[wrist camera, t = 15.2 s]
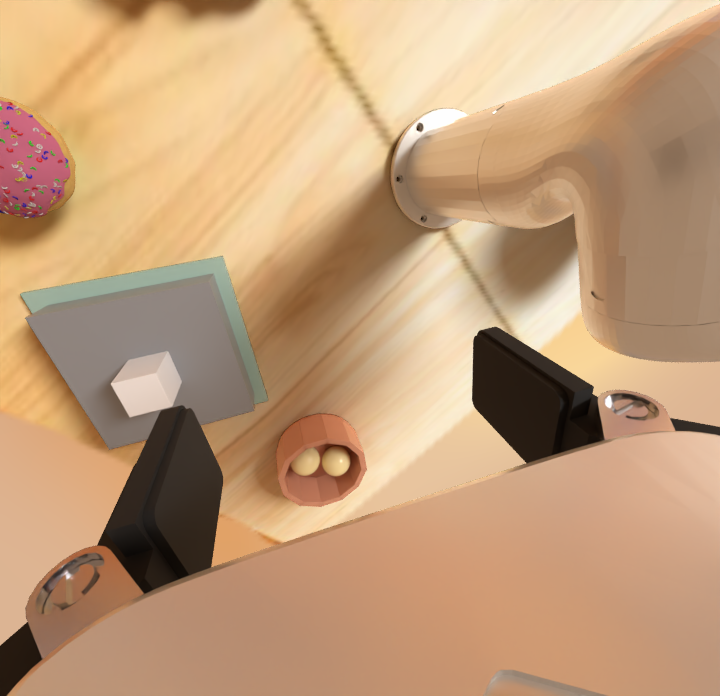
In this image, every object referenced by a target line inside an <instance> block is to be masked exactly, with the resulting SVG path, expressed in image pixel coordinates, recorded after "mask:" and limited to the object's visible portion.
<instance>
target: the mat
mask: <svg viewBox="0 0 720 696" xmlns="http://www.w3.org/2000/svg"><path fill="white" fill-rule="evenodd" d="M212 273H214V276H215V279H216V282H217V285H218V288H219V291H220V294H221V297H222V300H223V303H224V306H225V309H226V312H227V315H228V318H229V320H230V323H231V326H232V329H233V332H234V335H235V338H236V341H237V344H238V347H239V350H240V353H241V356H242V359H243V362H244V365H245V368H246V370H247V373H248V376H249V379H250V382H251V385H252V388H253V391H254V404H258V403H262V402H265V401H268V397H267V393H266V390H265V387H264V384H263V381H262V378H261V375H260V371H259V368H258V365H257V362H256V359H255V356H254V353H253V349H252V346H251V343H250V340H249V337H248V334H247V331H246V327H245V324H244V321H243V318H242V315H241V312H240V309H239V305H238V302H237V299H236V296H235V293H234V290H233V287H232V283H231V280H230V277H229V274H228V271H227V268H226V265H225V261H224V258H223V256H220V257H215V258H209V259H204V260H198V261H193V262H187V263H182V264H176V265H171V266H165V267H160V268H154V269H149V270H144V271H138V272H133V273H127V274H122V275H116V276H111V277H105V278H100V279H94V280H89V281H83V282H78V283H72V284H67V285H62V286H56V287H51V288H45V289H40V290H34V291H29V292H23V293H21V294H20V295H21V297H22V298H23V300H24V301H25V303H26V305H27V306H28V308H29V309H30V311H31V313H32V314H33V313H35V312H36V311H38V310H40V309H42V308H44V307H45V306H47V305H51V304H56V303H61V302H67V301H72V300H77V299H82V298H87V297H93V296H98V295H103V294H108V293H113V292H119V291H124V290H129V289H134V288H139V287H145V286H150V285H155V284H160V283H165V282H171V281H176V280H181V279H186V278H191V277H197V276H202V275H207V274H212Z"/></svg>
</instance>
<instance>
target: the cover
mask: <svg viewBox="0 0 720 696" xmlns="http://www.w3.org/2000/svg"><path fill="white" fill-rule="evenodd" d="M25 319H26V321H27V322H28V324H29V325H30V327H31V328H32V330H33V332H34V333H35V335H36V336H37V338H38V339H39V341H40V342H41V344H42V346H43V347H44V349H45V350H46V352H47V353H48V355H49V356H50V358H51V360H52V361H53V363H54V364H55V366H56V367H57V369H58V370H59V372H60V374H61V375H62V377H63V378H64V380H65V381H66V383H67V384H68V386H69V388H70V389H71V391H72V392H73V394H74V395H75V397H76V398H77V400H78V402H79V403H80V405H81V406H82V408H83V409H84V411H85V412H86V414H87V416H88V417H89V419H90V420H91V422H92V423H93V425H94V426H95V428H96V430H97V431H98V433H99V434H100V436H101V437H102V439H103V440H104V442H105V444H106V445H107V447H108V448H109V450H110V449H114V448H118V447H121V446H125V445H129V444H132V443H136V442H140V441H144V440H147V439H148V437H149V435H150V433H151V431H152V428H153V426H154V424H155V422H156V420H157V417H158V415H159V413H160V412H161V410H164V409H168V408H172V407H176V406H180V405H183V406H184V407H185V408H186V409H188V408H191V409H192V410H193V411H194V413H195V415H196V418H197V420H198V422H199V424H200V425H203V424H207V423H211V422H215V421H218V420H222V419H226V418H230V417H233V416H237V415H241V414H244V413H248V412H252V411H254V391H253V388H252V385H251V382H250V379H249V376H248V373H247V370H246V368H245V365H244V362H243V359H242V356H241V353H240V350H239V347H238V344H237V341H236V338H235V335H234V332H233V329H232V326H231V323H230V320H229V318H228V315H227V312H226V309H225V306H224V303H223V300H222V297H221V294H220V291H219V288H218V285H217V282H216V279H215V276H214V273H212V274H207V275H202V276H197V277H191V278H186V279H181V280H176V281H171V282H165V283H160V284H155V285H150V286H145V287H139V288H134V289H129V290H124V291H119V292H113V293H108V294H103V295H98V296H93V297H87V298H82V299H77V300H72V301H67V302H61V303H56V304H51V305H47V306H45V307H44V308H42V309H40V310H38V311H36V312H35V313H33V314H31V315H29V316H28V317H26V318H25Z"/></svg>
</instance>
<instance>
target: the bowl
mask: <svg viewBox="0 0 720 696" xmlns="http://www.w3.org/2000/svg"><path fill="white" fill-rule="evenodd" d="M276 458H277V472H278V481H279V484H280V487H281V490H282V492H283V495H284V496H285V497H287V498H288V499H290V500H291V501H293V502H295V503H296V504H298V505H300V506H318V507H321V506H324V505H327V504H330V503H333V502H337V501H340V500H342V499H344V498H345V497H346V496H347V495H348V494H350V493H351V492H352V491H353V490H355V489H356V488H357V487H358V486H359V485H360V482H361V480H362V478H363V476H364V474H365V472H366V470H367V468H366V462H365V457H364V452H363V450H362V447H361V445H360V442H359V440H358V437H357V435H356V432H355V430H354V429H353V428H352V427H351V425H350V424H349V423H348V422H347V421H346V420H344V419H343V418H341V417H338V416H336V415H332V414H314V415H310V416H307V417H304V418H302V419H300V420H298V421H296V422H295V423H293V424H292V425H290V426H289V427H288V428H287V429H286V431H285V432H284V433H283V435H282V436H281V438H280V440H279V443H278V448H277V451H276Z"/></svg>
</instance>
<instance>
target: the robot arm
mask: <svg viewBox="0 0 720 696" xmlns="http://www.w3.org/2000/svg"><path fill="white" fill-rule="evenodd" d="M416 126H418V131H417V129H416ZM397 177H398V178H399V181H398V182H397V180H396V178H397ZM391 185H392V190H393V195H394V197H395V200H396V202H397V204H398V206H399V207H400V209H401V211H402V212H403V213H404V214H405V215H406V216H407V217H408V218H409V219H410V220H412V221H413V222H415V223H416V224H419V225H421V226H424V227H429V228H444V227H449V226H451V225H454V224H456V223H458V222H459V221H461V220H462V219H463V220H469V221H475V222H482V223H488V224H494V225H501V226H507V227H513V228H521V229H536V228H543V227H546V226H549V225H552V224H555V223H557V222H560V221H562V220H564V219H565V218H567V217H569V216H570V215H572V214H574V220H575V234H576V240H577V244H578V262H579V281H580V298H581V308H582V316H583V319H584V323H585V325H586V328H587V330H588V331H589V333H590V334H591V336H592V337H593V338H594V339H595V340H596V341H597V342H599V343H600V344H601V345H603V346H604V347H606V348H608V349H610V350H612V351H614V352H617V353H619V354H622V355H626V356H629V357H633V358H638V359H644V360H651V361H662V362H716V361H720V4H719V5H716V6H714V7H711V8H709V9H707V10H705V11H703V12H701V13H699V14H697V15H694V16H692V17H690V18H688V19H686V20H684V21H682V22H680V23H678V24H676V25H674V26H672V27H670V28H669V29H667V30H665V31H663V32H661V33H659V34H658V35H656V36H654V37H652V38H650V39H649V40H647V41H645V42H643V43H641V44H640V45H638V46H636V47H634V48H632V49H631V50H629V51H627V52H625V53H623V54H622V55H620V56H618V57H616V58H614V59H612V60H611V61H609V62H606V63H604V64H602V65H600V66H598V67H596V68H594V69H592V70H590V71H588V72H586V73H584V74H582V75H580V76H577V77H575V78H572V79H570V80H567V81H565V82H562V83H560V84H557V85H555V86H552V87H549V88H547V89H544V90H541V91H538V92H535V93H532V94H529V95H527V96H524V97H521V98H518V99H515V100H512V101H509V102H506V103H503V104H501V105H498V106H495V107H492V108H489V109H486V110H483V111H480V112H477V113H474V114H471V115H468V114H466V113H465V112H463V111H461V110H457V109H453V108H440V109H436V110H432V111H430V112H428V113H425V114H423V115H422V116H420V117H419V118H417V119H416V120H414V121H413V122H412V123H411V124H410V125H409V126H408V127H407V129H406V130H405V132H404V133H403V134H402V136H401V137H400V139H399V141H398V144H397V146H396V148H395V151H394V154H393V158H392V164H391ZM421 216H422V220H420V219H421ZM593 388H594V387H593V386H592V385H590V384H589V383H587V382H585V381H584V380H582V379H580V378H579V377H577V376H576V375H574V374H572V373H571V372H569V371H567V370H566V369H564V368H563V367H561V366H559V365H558V364H556V363H555V362H553V361H551V360H550V359H548V358H547V357H545V356H543V355H542V354H540V353H538V352H537V351H535V350H534V349H532V348H530V347H529V346H527V345H525V344H524V343H522V342H521V341H519V340H517V339H516V338H514V337H513V336H511V335H509V334H508V333H506V332H504V331H503V330H501V329H500V328H498V327H492V328H488V329H484V330H480V331H479V332H478V334H477V336H475V337H474V341H473V386H472V401H473V404H474V407H475V408H476V410H477V411H478V412H479V413H480V414H481V415H482V416H483V417H484V418H485V419H486V420H487V421H488V422H489V423H490V425H492V427H493V428H494V429H495V430H496V431H497V432H498V433H499V434H500V435H501V436H502V437H503V438H504V439H505V441H506V442H507V443H508V444H509V445H510V446H511V447H512V448H513V449H514V450H515V451H516V452H517V453H518V454H519V456H520V457H521V458H522V459H523V460H525V462H526V464H523V465H520V466H517V467H514V468H511V469H507V470H504V471H501V472H498V473H495V474H492V475H489V476H486V477H482V478H479V479H476V480H473V481H470V482H467V483H464V484H461V485H457V486H454V487H451V488H449V489H445V490H442V491H439V492H436V493H433V494H430V495H427V496H424V497H421V498H417V499H415V500H411V501H408V502H405V503H402V504H399V505H396V506H393V507H390V508H387V509H384V510H381V511H378V512H375V513H372V514H368V515H365V516H362V517H360V518H356V519H354V520H350V521H347V522H344V523H341V524H338V525H335V526H332V527H329V528H326V529H323V530H320V531H317V532H314V533H311V534H308V535H305V536H302V537H299V538H296V539H293V540H290V541H287V542H284V543H281V544H278V545H275V546H272V547H269V548H266V549H263V550H260V551H257V552H254V553H251V554H249V555H246V556H243V557H240V558H237V559H234V560H231V561H229V562H226V563H223V564H220V565H217V566H214V567H211V564H212V557H213V550H214V542H215V536H216V529H217V522H218V514H219V507H220V500H221V493H222V486H223V475H222V471H221V469H220V467H219V465H218V463H217V460H216V458H215V456H214V454H213V452H212V450H211V448H210V445H209V443H208V441H207V439H206V437H205V435H204V433H203V430H202V428H201V426H200V424H199V422H198V420H197V418H196V415H195V413H194V411H193V410H192V409H191V408H188V409H186V408H185V407H184V406H183V405H180V406H176V407H172V408H168V409H164V410H161V412H160V413H159V415H158V417H157V420H156V422H155V424H154V426H153V428H152V431H151V433H150V435H149V437H148V439H147V441H146V444H145V446H144V448H143V450H142V452H141V455H140V457H139V459H138V461H137V463H136V464H135V466H134V467H133V469H132V471H131V473H130V476H129V478H128V480H127V482H126V485H125V487H124V489H123V491H122V493H121V495H120V497H119V499H118V502H117V504H116V506H115V508H114V510H113V512H112V514H111V517H110V519H109V521H108V523H107V525H106V528H105V530H104V532H103V534H102V536H101V538H100V540H99V543H98V545H97V546H92V547H88V548H85V549H82V550H80V551H78V552H76V553H74V554H72V555H71V556H69V557H67V558H66V559H64V560H63V561H62V562H60V563H59V564H58V565H57V566H55V567H54V568H53V569H52V570H51V571H49V572H48V573H47V574H46V576H45V577H44V578H43V579H42V580H41V581H40V582H39V583H38V584H37V586H36V588H35V589H34V591H33V592H32V594H31V595H30V597H29V600H28V603H27V606H26V619H27V621H28V622H27V623H26V624H25V625H24V626H23V627H21V628H20V629H19V630H18V631H17V632H16V633H15V634H13V635H12V636H11V637H10V638H9V639H7V640H6V641H5V642H4V643H3V644H2V645H1V646H0V696H720V427H716V426H711V425H705V424H700V423H695V422H689V421H684V420H678V419H672V418H670V417H669V415H668V413H667V411H666V409H665V408H664V406H663V405H662V404H660V403H659V402H658V401H656V400H654V399H653V398H651V397H649V396H646V395H643V394H640V393H637V392H632V391H627V390H612V391H606V392H604V393H602V394H601V395H600V396H599V397H597V396H595V395H593V394H592V393H593Z"/></svg>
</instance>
